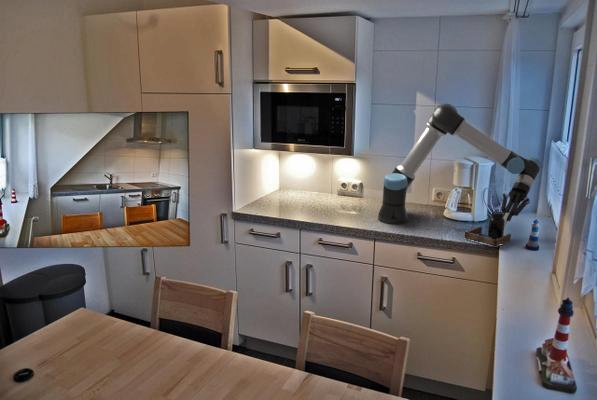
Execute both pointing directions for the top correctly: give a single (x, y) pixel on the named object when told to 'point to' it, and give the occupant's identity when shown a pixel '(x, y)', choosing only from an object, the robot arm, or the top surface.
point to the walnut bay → (473, 236)
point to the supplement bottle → (496, 225)
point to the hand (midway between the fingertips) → (502, 225)
